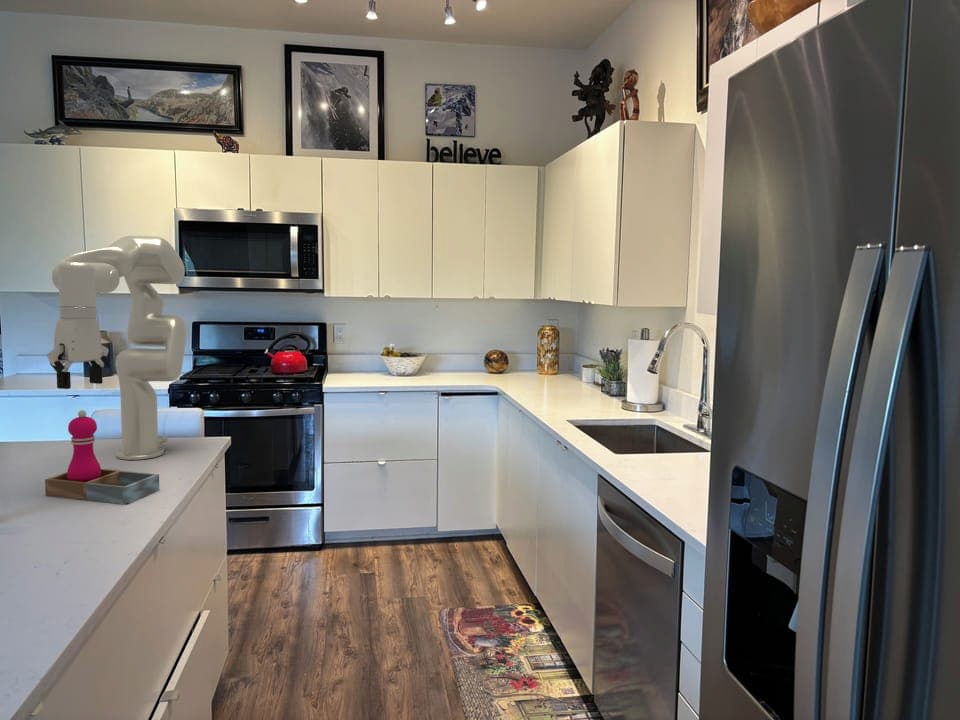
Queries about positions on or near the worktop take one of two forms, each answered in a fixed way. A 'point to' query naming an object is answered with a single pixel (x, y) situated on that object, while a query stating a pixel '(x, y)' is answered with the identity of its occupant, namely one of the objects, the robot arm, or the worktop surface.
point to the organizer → (105, 486)
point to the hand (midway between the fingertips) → (80, 385)
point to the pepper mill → (83, 449)
